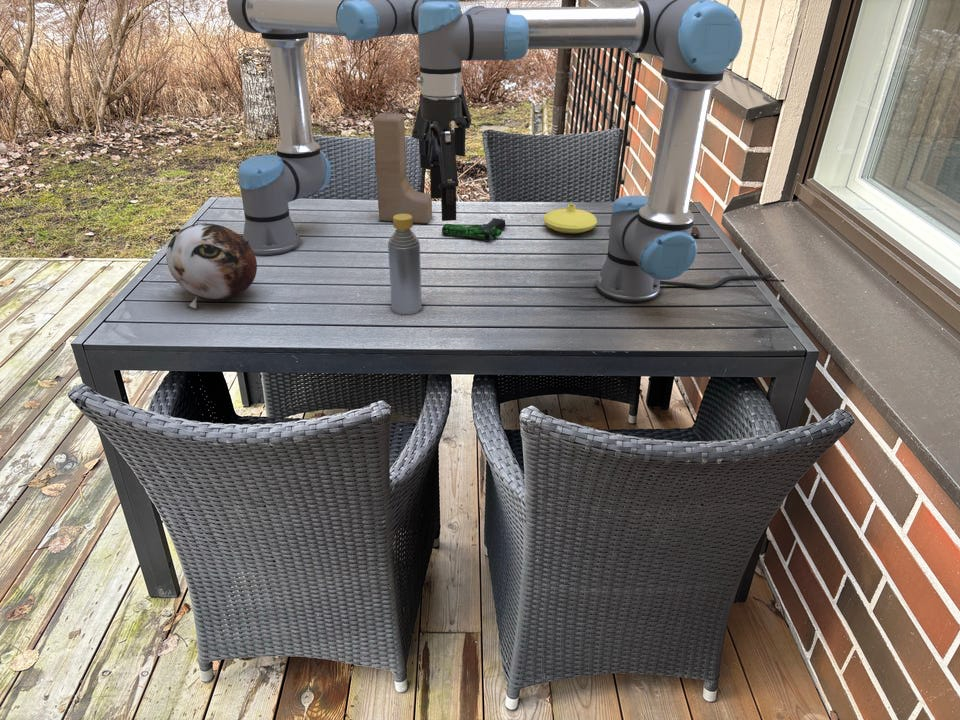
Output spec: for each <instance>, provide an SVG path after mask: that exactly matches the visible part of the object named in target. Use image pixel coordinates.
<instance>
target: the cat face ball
mask: <svg viewBox="0 0 960 720" xmlns="http://www.w3.org/2000/svg"><path fill="white" fill-rule="evenodd" d="M248 242H249V241H246V240H245V239H244V238H243V237H241V236H240V234H239V233H238V232H236V231H234V230H233V229H231V228H229V227H226V226H223V225H220V224H215V223H205V222H204V223H195V224H191V225H188V226H186V227H183V228H182V229H181V230H180V231H179V232H176V233H175V234H174V235H173V237H171V239H170V241H169V243H168V245H167V248H166V254H165V260H166V265H167V268H168V271H169V273H170V275H171V276H172V277H173V279H174V280H175V281H176V282H177V284H178V285H180V286H181V287H182V288H183V289H185V290H186V291H187V292H189V293H191V294H194V295H195V298H194V299H193V300H192V302H190V303H189V304H188V306H189V307H191V308H192V309H197V308H198V307H197V298H198V297H201V298H205V299H210V300H226V299H230V298H233V297H236V296H238V295H241V294H242V293H244V292H245V291H247V290H248V289H249V288H250V286H251V285H252V284H253V282H254V280H255V278H256V275H257V271H258V262H257V257H256V254H254V252H253V250H252V248H251V247H250V245H249V244H248Z"/></svg>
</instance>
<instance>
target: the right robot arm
mask: <svg viewBox="0 0 960 720" xmlns="http://www.w3.org/2000/svg"><path fill="white" fill-rule="evenodd" d="M417 36H418V37H417V38H418V39H417V41H418V42H417V43H418V63H419V75H420V77H417V78H416V83H417V84H419V86H420V87H419V88H420V89H419V91H420V94H422V95H424V96H423V97H422V98H421V117H422V118H423V119H424V120H427V121H430V128H429V139H428V140H429V148H428V159H430V160H429V163H430V165H432V166H430V170H429V182H430V184H429V185H430V187H429V188H430V195H431V199H432V200H433V199H440V202H441V203H440V205H441V206H440V207H441V209H440V210H441V221H442V222H447V221H448V222H449V221H452V222H453V221H457V188H458V187H459V186H460V185H459V184H460V182H459V177H458V165H457V155H456V152H455V133H454V129H452V127H451V122H454V121H455V120H458V119H460V118H461V115H462V114H461V98H460V97H459V95H460V94H461V93H462V86H463V85H462V84H463V83H462V81H463V79H462V78H463V77H462V75H463V74H462V62H465V61H466V62H470V61H506V62H509V61H512V60H513V61H515V60H521V59H524V58H525V57H526V56H527V53H528V50H567V49H568V50H569V49H570V50H573V49H574V50H575V49H579V50H580V49H582V50H583V49H626V51H627V52H628V53H629V54H645V55H651V56H655V57H659V58H662V67H661V73H660V77H661V78H662V80H663V81H664V83H665V84H666V91H665V97H664V103H663V107H662V108H663V109H662V114H661V120H660V126H659V132H658V139H657V144H656V149H655V150H656V151H655V157H654V162H653V168H652V174H651V179H650V186H649V192H648V195H637V194H635V195H624V196H621V197H618V198H616V199H615V200H614V202H613V204H612V210H611V212H610V214H611V215H610V216H611V217H610V224H609V234H608V244H607V253H606V254H607V255H606V258H605V261H604V264H603V265H602V267H601V270H600V271H599V273H598V276H597V280H596V283H595V284H596V286H595V287H596V290H597V292H598V293H600V294H601V295H602V296H604V297H605V298H608V299H610V300H613V301H617V302H621V303H622V302H623V303H633V304H634V303H635V304H636V303H646V302H649V301H652V300H655V299H657V297H658V296H659V294H660V292H661V291H660V290H661V285H664V286H675V287H676V286H678V287H687V288H693V289H706V290H707V289H714V288H718V287H720V286H721V285H722V284H724V283H725V282H728V281H733V280H759V279H760V280H762V279H770V278H771V279H772V278H773V277H772V276H771V274H772V273H768V274H757V275H758V276H759V277H758V276H757V275H750V276H748V275H749V274H747V275H746V274H745V275H743V274H742V275H741V274H740V275H729V276H726V277H723V278H722V279H720V280H719V281H718V282H717V283H712V284H696V283H690V282H679V281H670V280H674V279H676V278H678V277H680V276H682V274H684V273H685V272H687V271H688V270H689V269H691V267H692V266H693V264H694V263H695V260H696V258H697V255H698V245H697V242H696V240H695V237H693V236H691V232H692V227H694V221H695V215H694V214H693V213H692V211H691V210H690V204H691V198H692V193H693V188H694V183H695V179H696V173H697V168H698V163H699V159H700V153H701V149H702V143H703V137H704V133H705V128H706V123H707V118H708V113H709V108H710V103H711V97H712V93H713V90H714V89H715V88H716V87H717V86H718V85H719V84H721V83H723V79H724V75H725V70H726V69H727V68H729V66H730V65H731V64H732V62H734V61H735V59H736V58H737V57H738V55H739V53H740V50H741V47H742V44H743V43H742V42H743V28H742V23H741V20H740V18H739V17H738V16H737V14H736V12H735V11H734V10H733V9H732V8H731V7H729V6H728V5H726V4H723V3H721V2H719V1H717V0H633V1H631V2H630V4H629V5H627V6H626V5H625V6H623V5H622V6H525V7H524V6H523V7H519V6H517V7H510V6H509V7H486V6H484V5H477V6H476V5H475V6H471V7H469V8H467V9H466V10H465V11H464V12H462V6H461V4H460V3H457V2H444V1H432V2H425V3H423V4H421V5H420V7H419V13H418V35H417Z"/></svg>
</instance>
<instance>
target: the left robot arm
mask: <svg viewBox="0 0 960 720" xmlns="http://www.w3.org/2000/svg"><path fill="white" fill-rule="evenodd" d="M432 1H444V2H457V3H459V0H226V7H227V12H228V15H229V17H230V19H231V21H232V22H233V23H234V25H236V26H237V28H239V29H240V30H242V31H244V32H246V33H250V34H260V35H261V40H262V41H264V42H265V43H266V44H267V46H268V48H269V57H270V63H271V72H272V81H273V88H274V96H275V103H276V111H277V119H278V128H279V135H280V142H279V143H278V145H277V146H276V148H275V149H276V150H275V151H276V154H262V155H254V156H253V157H250V158H247V159H245V160H244V161H242V162H241V163H240V164H239V166H238V168H237V174H238V185H239V190H240V194H241V195H240V196H241V201H242V208H243V212H244V213H243V215H244V219H245V220H244V226H243V228H244V229H243V234H242V235H240V234H239V235H240V236H241V237H243V238H244V239H245V240H246V241H249V242H248V244H249V245H250V247H251V248H252V250H253V252H254V254H255V256H256V255H257V256H275V255H281V254H282V255H283V254H285V253H289V252H291V251H293V250H296V249H297V248H298V247H299V246H300V244H301V241H300V235H299V233H298V231H297V229H296V227H295V225H294V223H293V220H292V218H291V216H290V207H289V203H291V202H293V201H296V200H299V199H302V198H305V197H309V196H312V195H315V194H317V193H318V192H321V191H322V190H324V189H325V188H326V187H328V185H329V183H330V180H331V175H332V168H331V163H330V160H329V158H327V155H326V153H325V152H324V151H323V150H321V146H320V144H319V143H318V142H316V141H315V140H314V134H313V133H314V132H313V123H312V115H311V114H312V113H311V104H310V94H309V93H310V92H309V84H308V75H307V65H306V55H305V44H306V43H307V41H308V40H309V39H310V36H309V34H310V33H311V34H319V35H320V34H321V35H328V36H329V35H330V36H339V37H345V38H346V39H347V40H350V41H359V42H360V41H361V42H362V41H363V42H364V41H368V40H373V39H378V38H385V37H392V36H400V35H417V36H418V13H419V7H420V5H421V4H423V3H425V2H432ZM459 4H460V3H459ZM423 96H424V95H422V94H421V93H420V94H419V104H418V109H417V112H416V117H415V121H414V125H413V130H412V132H411V138H412V139H415V140H417V141H418V153H419V159H420V160H419V163H420V165H419V168H420V169H425V170H429V171H430V166H432V165H430V163H429V160H430V159H428V148H429V128H430V121H427V120H424V119H423V118H422V117H421V98H422V97H423ZM459 97H460V98H461V114H462V115H461V118H460V119H458V120H455V121H453V123H454V124H455V126H456V127H453V131H454V133H455V152H456V157H463V158H464V157H466V136H467V135H466V133H467V132H466V130H467V129H470V127H471V124H472V117H471V114H470V110H469V107H468V102H467V99H466V96H465V87H464V85H462V93H461V94H460V95H459ZM180 230H182V229H180V228H173V229H171V230H170V231H169V232H168V235H173V234H174V233H178V232H179V231H180Z"/></svg>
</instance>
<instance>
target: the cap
mask: <svg viewBox="0 0 960 720" xmlns="http://www.w3.org/2000/svg"><path fill="white" fill-rule="evenodd" d="M392 223H393V224H392V225H393V226H392V227H393V228H394V229H395V230H396V229H400V230H406V229H412V228H413V227H414V226H413V225H414V223H413V219H412V216H411V215H409V214H397V215H394V216H393V221H392Z"/></svg>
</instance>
